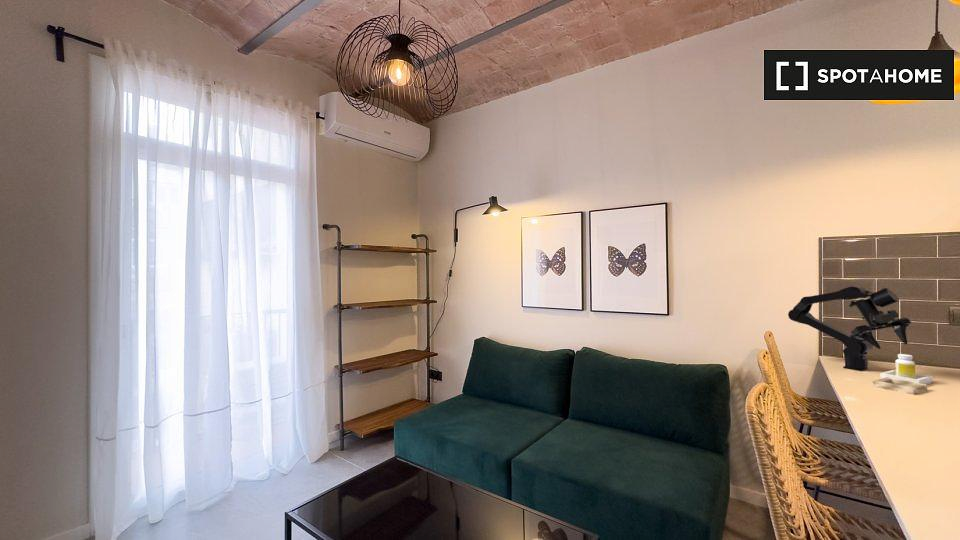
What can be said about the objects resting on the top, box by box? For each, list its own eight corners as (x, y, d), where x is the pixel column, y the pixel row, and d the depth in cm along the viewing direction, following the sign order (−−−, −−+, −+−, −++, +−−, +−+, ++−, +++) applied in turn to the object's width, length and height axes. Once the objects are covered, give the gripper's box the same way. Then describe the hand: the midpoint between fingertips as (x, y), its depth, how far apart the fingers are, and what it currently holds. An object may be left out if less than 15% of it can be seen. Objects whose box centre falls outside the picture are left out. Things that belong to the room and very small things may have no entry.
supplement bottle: (919, 381, 152) (919, 356, 152) (902, 381, 153) (902, 356, 153) (907, 377, 157) (907, 353, 157) (891, 377, 159) (891, 353, 159)
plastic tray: (880, 379, 158) (880, 373, 158) (893, 375, 162) (893, 369, 162) (919, 386, 148) (919, 380, 148) (932, 382, 152) (931, 376, 152)
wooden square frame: (872, 386, 150) (872, 381, 150) (886, 382, 154) (886, 377, 154) (913, 394, 140) (913, 389, 140) (927, 390, 144) (927, 384, 144)
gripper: (853, 310, 165) (875, 345, 157) (906, 299, 160) (932, 335, 152) (842, 319, 174) (863, 353, 166) (891, 309, 169) (916, 343, 161)
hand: (893, 346), depth 161 cm, fingers open, 9 cm apart
